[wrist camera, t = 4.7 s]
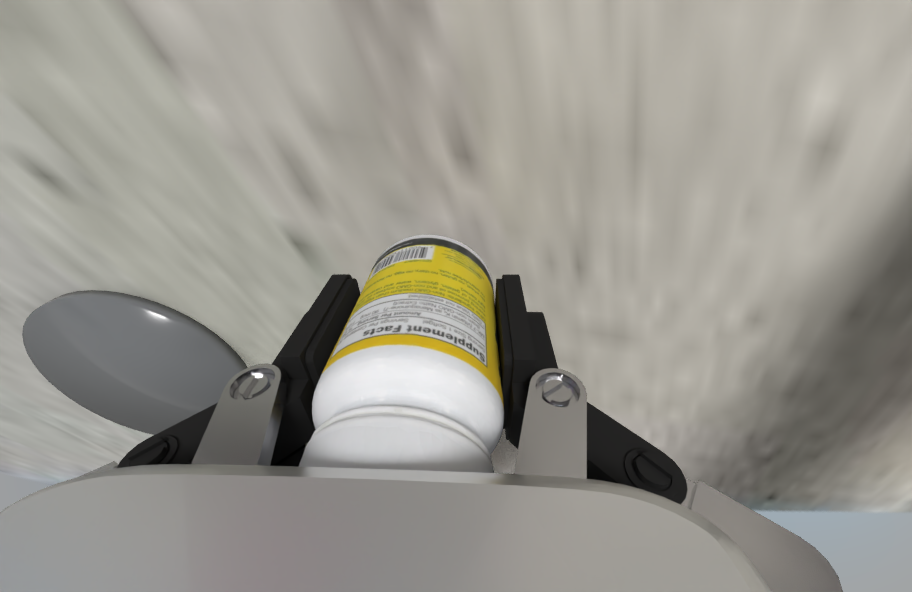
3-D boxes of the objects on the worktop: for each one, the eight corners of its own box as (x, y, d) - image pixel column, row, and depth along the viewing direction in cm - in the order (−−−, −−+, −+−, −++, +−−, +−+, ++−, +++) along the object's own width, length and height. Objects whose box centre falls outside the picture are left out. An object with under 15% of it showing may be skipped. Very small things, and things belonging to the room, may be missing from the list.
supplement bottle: (459, 346, 15) (446, 590, 8) (357, 306, 14) (243, 547, 7) (517, 263, 12) (568, 518, 6) (398, 207, 11) (280, 433, 5)
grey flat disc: (205, 289, 14) (196, 296, 14) (280, 430, 20) (276, 439, 19) (-20, 291, 15) (-36, 299, 14) (117, 429, 20) (108, 438, 20)
